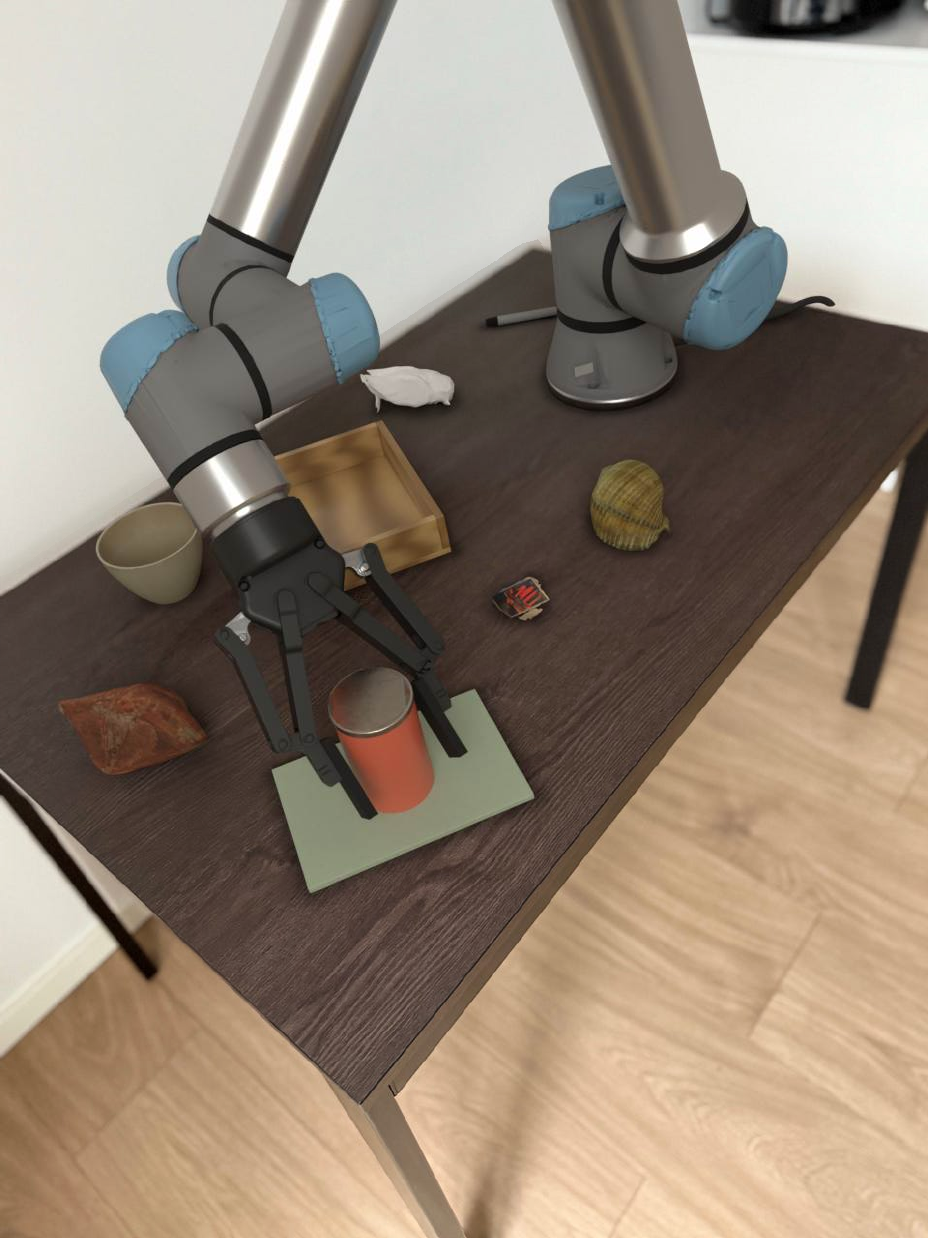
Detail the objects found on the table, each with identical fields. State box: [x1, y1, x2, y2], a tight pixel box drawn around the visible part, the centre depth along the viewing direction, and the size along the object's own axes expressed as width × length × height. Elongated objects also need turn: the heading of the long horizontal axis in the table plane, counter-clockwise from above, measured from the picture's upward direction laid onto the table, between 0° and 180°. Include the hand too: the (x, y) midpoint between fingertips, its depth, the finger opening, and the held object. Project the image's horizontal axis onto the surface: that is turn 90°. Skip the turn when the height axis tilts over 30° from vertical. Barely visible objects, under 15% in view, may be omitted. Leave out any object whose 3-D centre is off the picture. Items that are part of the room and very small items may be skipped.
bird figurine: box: [359, 365, 455, 413], centre depth 113 cm, size 5×7×10 cm
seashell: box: [589, 459, 671, 552], centre depth 92 cm, size 10×7×8 cm
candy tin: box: [326, 666, 434, 813], centre depth 71 cm, size 6×6×10 cm
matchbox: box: [490, 576, 550, 621], centre depth 88 cm, size 5×5×1 cm
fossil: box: [57, 682, 209, 776], centre depth 79 cm, size 13×8×10 cm
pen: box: [485, 306, 557, 327], centre depth 125 cm, size 1×16×1 cm, turn 94°
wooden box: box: [273, 419, 452, 592], centre depth 98 cm, size 20×20×5 cm
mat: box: [271, 688, 535, 894], centre depth 75 cm, size 18×12×1 cm, turn 112°
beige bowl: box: [95, 501, 204, 606], centre depth 94 cm, size 10×10×7 cm
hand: (414, 784), depth 70 cm, fingers open, 7 cm apart
